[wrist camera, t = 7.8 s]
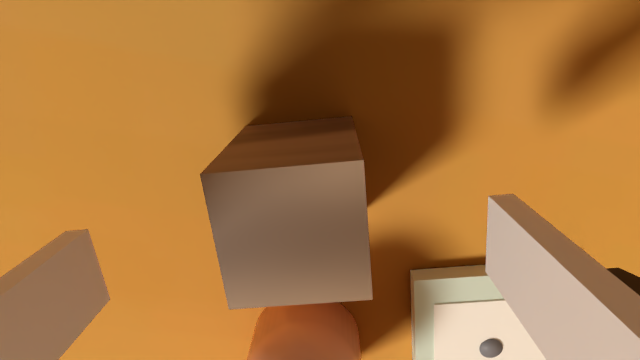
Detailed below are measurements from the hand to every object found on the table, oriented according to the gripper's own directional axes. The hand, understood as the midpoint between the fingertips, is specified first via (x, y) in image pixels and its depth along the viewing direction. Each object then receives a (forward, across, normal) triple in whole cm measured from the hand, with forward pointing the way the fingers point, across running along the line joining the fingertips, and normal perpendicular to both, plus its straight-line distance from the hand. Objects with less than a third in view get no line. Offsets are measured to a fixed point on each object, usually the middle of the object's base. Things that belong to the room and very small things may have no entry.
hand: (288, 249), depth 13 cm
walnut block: (+7, 0, 0) cm, 7 cm away
